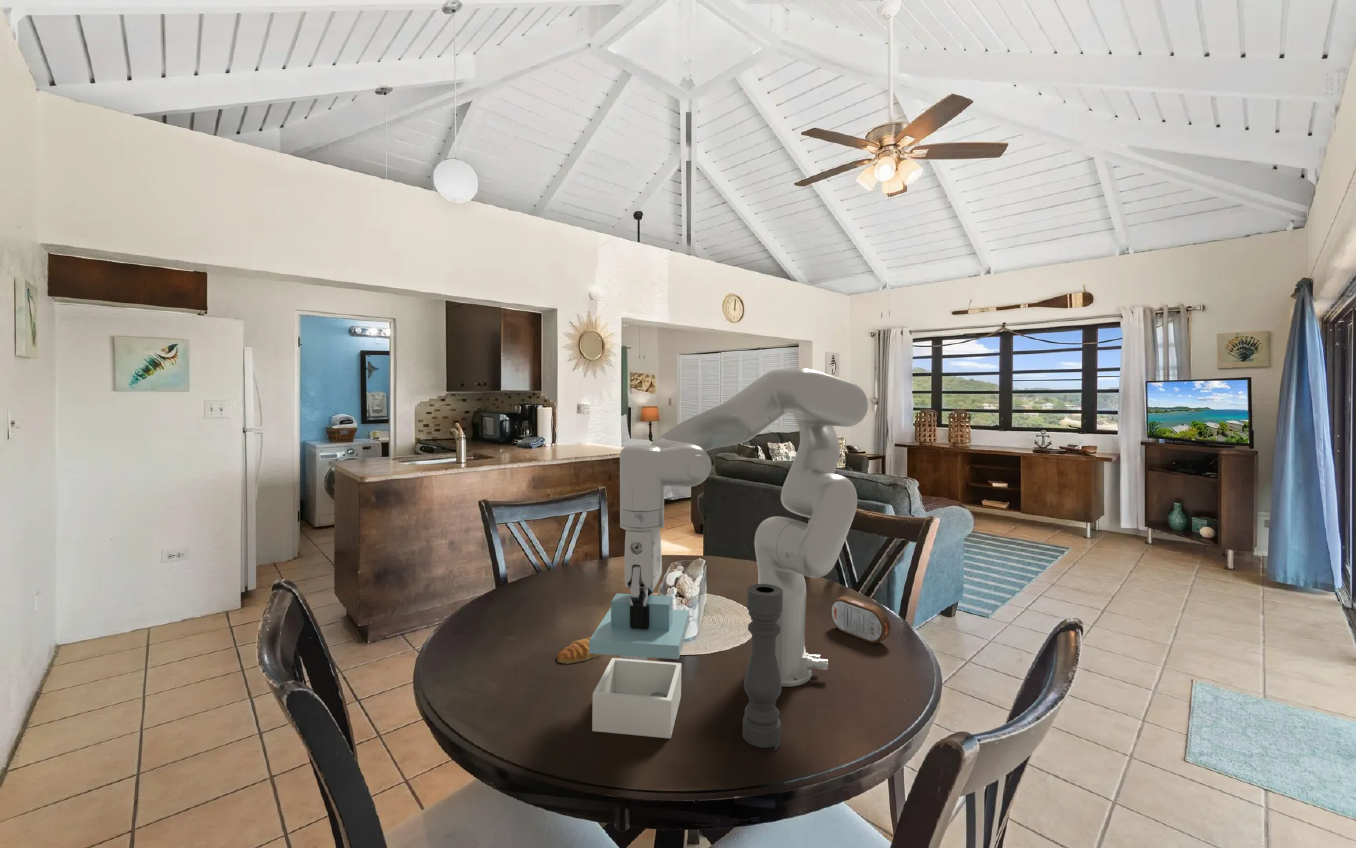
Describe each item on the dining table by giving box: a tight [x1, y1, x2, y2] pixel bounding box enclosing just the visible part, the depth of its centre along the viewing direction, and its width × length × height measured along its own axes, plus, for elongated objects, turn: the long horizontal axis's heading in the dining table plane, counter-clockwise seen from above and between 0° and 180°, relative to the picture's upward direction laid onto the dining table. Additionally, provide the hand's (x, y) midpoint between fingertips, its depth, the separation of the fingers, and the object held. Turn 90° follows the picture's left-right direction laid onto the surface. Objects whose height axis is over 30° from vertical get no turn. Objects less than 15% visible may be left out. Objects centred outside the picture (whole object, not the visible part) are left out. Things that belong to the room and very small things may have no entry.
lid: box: [589, 592, 690, 660], centre depth 99 cm, size 15×15×7 cm
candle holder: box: [741, 583, 783, 751], centre depth 93 cm, size 6×6×25 cm
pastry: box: [556, 636, 604, 665], centre depth 121 cm, size 9×7×4 cm
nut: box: [650, 692, 667, 698], centre depth 101 cm, size 3×3×2 cm
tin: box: [829, 595, 891, 644], centre depth 135 cm, size 15×3×8 cm, turn 38°
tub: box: [591, 657, 682, 740], centre depth 100 cm, size 13×13×7 cm
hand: (642, 621), depth 99 cm, fingers closed on lid, 4 cm apart
